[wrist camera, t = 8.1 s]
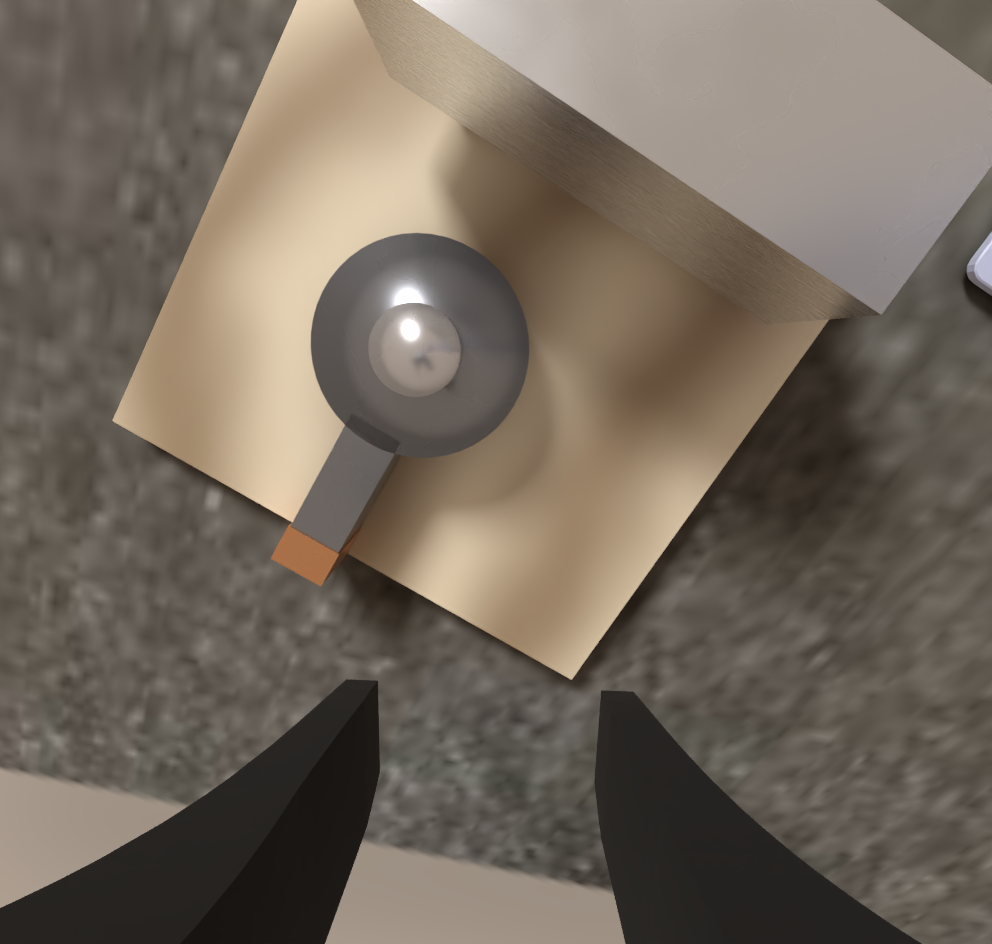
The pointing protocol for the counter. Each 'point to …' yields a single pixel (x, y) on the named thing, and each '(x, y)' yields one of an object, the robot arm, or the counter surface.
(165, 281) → the counter surface
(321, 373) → the grey lidded pan
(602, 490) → the wooden board
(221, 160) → the counter surface
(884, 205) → the grey long rectangular block
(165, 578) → the counter surface
